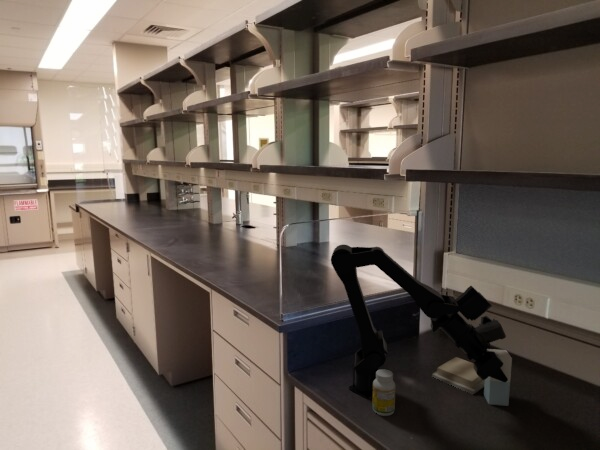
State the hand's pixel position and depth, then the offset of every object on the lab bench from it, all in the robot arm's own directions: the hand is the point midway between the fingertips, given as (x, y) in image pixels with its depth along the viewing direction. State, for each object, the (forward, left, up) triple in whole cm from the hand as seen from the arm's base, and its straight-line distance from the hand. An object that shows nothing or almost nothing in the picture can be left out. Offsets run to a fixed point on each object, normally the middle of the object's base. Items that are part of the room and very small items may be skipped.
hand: (503, 376), depth 108 cm
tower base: (-12, +3, -7) cm, 14 cm away
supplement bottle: (-17, -26, -7) cm, 32 cm away
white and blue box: (-1, -1, -7) cm, 7 cm away
